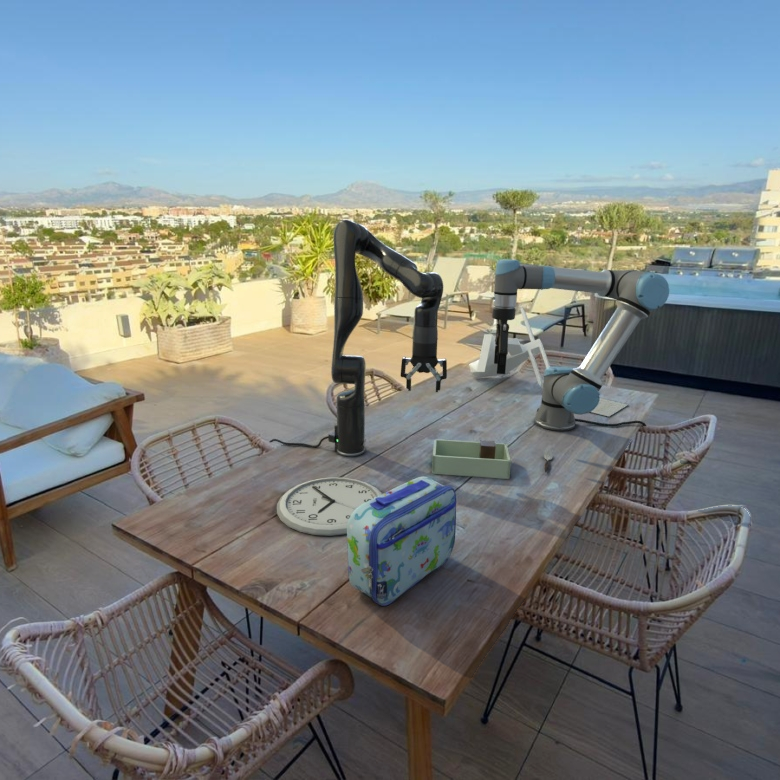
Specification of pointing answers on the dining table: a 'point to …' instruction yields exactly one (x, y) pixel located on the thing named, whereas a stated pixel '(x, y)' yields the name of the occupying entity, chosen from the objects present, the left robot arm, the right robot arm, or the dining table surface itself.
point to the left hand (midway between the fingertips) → (423, 390)
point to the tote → (469, 459)
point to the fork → (547, 459)
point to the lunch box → (400, 538)
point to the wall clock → (324, 504)
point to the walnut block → (487, 449)
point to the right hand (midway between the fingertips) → (499, 368)
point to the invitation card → (608, 407)
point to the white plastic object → (509, 355)
